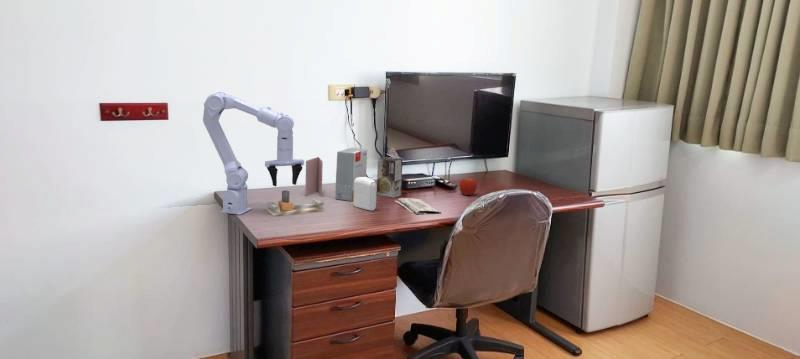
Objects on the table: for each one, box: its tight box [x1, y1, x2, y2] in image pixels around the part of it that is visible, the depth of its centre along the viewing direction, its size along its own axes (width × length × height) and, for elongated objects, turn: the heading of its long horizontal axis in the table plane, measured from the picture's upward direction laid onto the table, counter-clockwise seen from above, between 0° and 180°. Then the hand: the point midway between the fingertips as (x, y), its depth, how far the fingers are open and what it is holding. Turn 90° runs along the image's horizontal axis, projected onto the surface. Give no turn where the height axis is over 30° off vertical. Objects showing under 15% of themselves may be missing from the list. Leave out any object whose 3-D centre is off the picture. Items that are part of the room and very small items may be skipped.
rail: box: [266, 198, 325, 217], centre depth 239 cm, size 20×7×4 cm, turn 121°
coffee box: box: [376, 156, 403, 198], centre depth 272 cm, size 9×6×16 cm
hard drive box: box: [334, 147, 368, 202], centre depth 265 cm, size 16×8×20 cm, turn 161°
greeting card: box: [304, 156, 324, 198], centre depth 267 cm, size 11×7×15 cm, turn 161°
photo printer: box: [352, 176, 377, 211], centre depth 248 cm, size 10×4×12 cm, turn 47°
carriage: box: [277, 190, 294, 211], centre depth 236 cm, size 4×4×7 cm
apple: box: [459, 178, 478, 196], centre depth 281 cm, size 8×8×8 cm
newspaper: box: [395, 197, 441, 215], centre depth 254 cm, size 23×12×2 cm, turn 19°
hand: (284, 185), depth 235 cm, fingers open, 7 cm apart
